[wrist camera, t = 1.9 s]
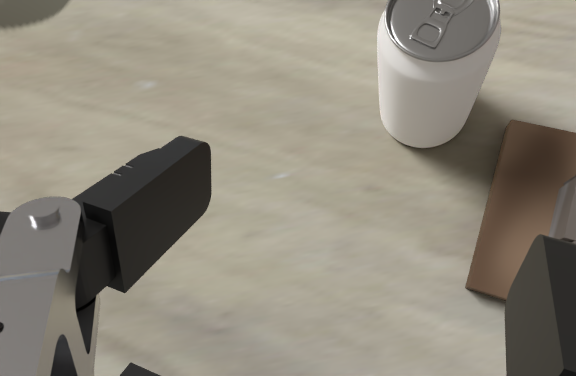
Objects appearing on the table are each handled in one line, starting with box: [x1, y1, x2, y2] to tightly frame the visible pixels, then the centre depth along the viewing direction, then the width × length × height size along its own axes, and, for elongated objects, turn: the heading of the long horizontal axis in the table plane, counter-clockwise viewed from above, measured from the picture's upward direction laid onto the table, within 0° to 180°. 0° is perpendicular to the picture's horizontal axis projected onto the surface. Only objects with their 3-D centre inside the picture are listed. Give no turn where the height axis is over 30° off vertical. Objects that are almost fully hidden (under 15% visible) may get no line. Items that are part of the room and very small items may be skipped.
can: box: [377, 0, 501, 148], centre depth 28 cm, size 6×6×12 cm
